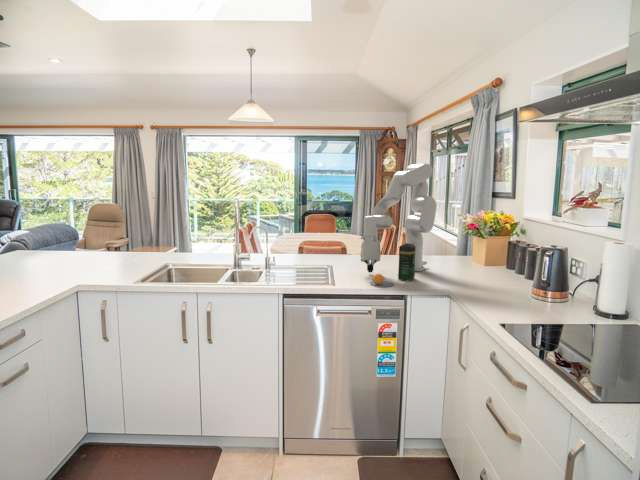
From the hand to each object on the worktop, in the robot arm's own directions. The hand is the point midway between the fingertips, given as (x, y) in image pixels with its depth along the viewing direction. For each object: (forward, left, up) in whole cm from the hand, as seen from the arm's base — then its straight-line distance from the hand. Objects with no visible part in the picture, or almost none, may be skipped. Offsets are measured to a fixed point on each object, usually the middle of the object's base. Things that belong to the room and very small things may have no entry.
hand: (370, 271), depth 223 cm
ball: (+13, +19, +1) cm, 23 cm away
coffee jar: (-7, +19, -2) cm, 21 cm away
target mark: (+11, +19, -2) cm, 22 cm away
